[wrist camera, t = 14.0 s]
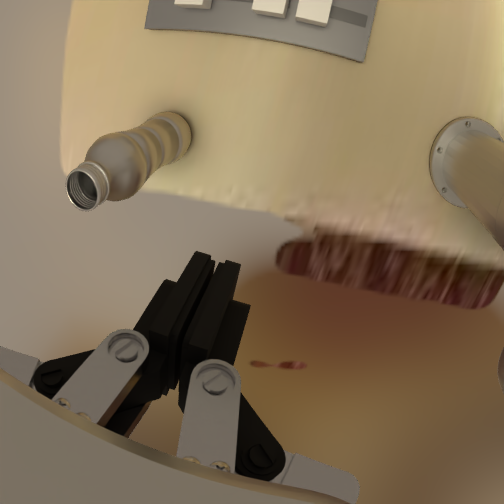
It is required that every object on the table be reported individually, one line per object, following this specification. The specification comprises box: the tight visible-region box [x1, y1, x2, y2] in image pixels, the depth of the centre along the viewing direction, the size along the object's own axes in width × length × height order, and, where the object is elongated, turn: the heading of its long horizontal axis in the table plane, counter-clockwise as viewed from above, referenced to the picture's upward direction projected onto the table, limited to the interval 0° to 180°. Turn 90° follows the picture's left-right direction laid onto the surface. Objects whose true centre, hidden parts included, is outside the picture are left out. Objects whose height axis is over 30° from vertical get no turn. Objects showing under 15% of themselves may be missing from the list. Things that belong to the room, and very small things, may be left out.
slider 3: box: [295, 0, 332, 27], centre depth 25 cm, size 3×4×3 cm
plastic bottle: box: [66, 112, 191, 211], centre depth 31 cm, size 6×7×20 cm
